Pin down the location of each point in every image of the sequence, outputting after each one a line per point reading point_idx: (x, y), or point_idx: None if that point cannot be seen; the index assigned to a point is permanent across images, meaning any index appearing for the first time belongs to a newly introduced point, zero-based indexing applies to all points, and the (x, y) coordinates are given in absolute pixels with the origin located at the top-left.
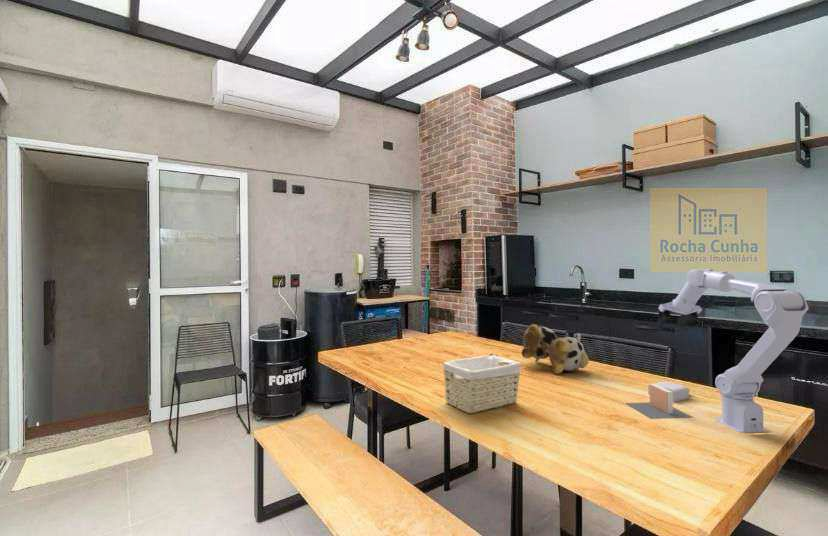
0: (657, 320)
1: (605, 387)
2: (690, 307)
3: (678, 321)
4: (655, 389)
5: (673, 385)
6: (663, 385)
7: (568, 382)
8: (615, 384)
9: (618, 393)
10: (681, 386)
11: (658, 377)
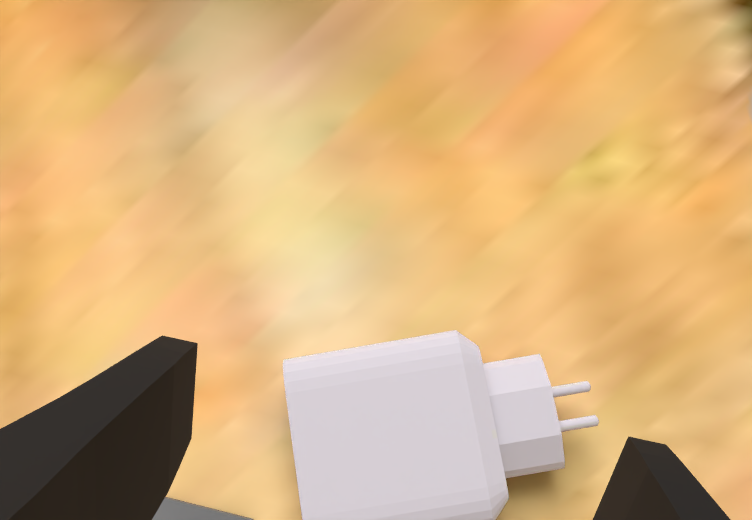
0: (129, 358)
1: (168, 153)
2: None
3: (639, 504)
4: None
5: (417, 458)
6: (342, 435)
7: (30, 8)
8: (281, 119)
9: (147, 275)
10: (454, 497)
11: (702, 70)
